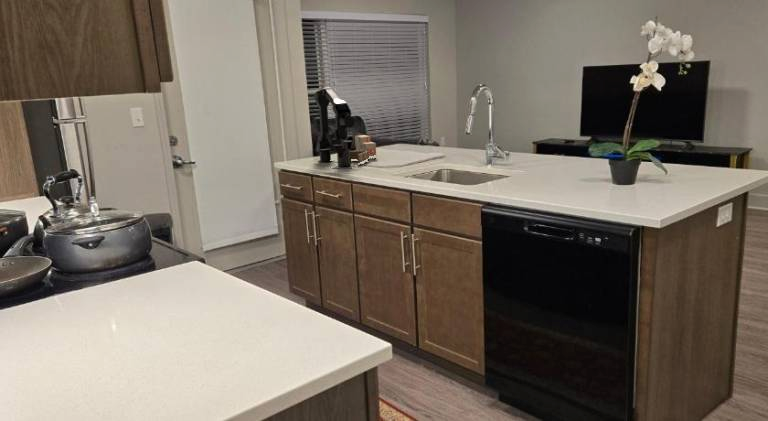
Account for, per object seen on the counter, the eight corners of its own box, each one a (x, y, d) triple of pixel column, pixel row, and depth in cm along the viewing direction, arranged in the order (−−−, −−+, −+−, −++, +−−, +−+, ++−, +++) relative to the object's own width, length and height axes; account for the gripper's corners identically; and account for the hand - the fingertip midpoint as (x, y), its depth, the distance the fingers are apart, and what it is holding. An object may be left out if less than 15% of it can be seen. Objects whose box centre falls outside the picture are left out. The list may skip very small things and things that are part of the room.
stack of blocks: (376, 159, 330) (375, 137, 327) (366, 160, 328) (365, 138, 325) (365, 154, 350) (364, 134, 347) (355, 155, 348) (354, 135, 345)
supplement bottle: (345, 165, 311) (343, 142, 308) (353, 166, 306) (352, 143, 303) (335, 167, 306) (333, 144, 303) (343, 168, 302) (342, 145, 299)
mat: (340, 165, 312) (340, 164, 312) (357, 165, 309) (356, 165, 309) (332, 168, 303) (332, 168, 303) (349, 169, 300) (349, 168, 300)
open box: (348, 161, 326) (347, 150, 324) (369, 161, 321) (368, 150, 320) (337, 165, 313) (337, 154, 311) (359, 165, 308) (358, 154, 307)
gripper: (335, 125, 312) (337, 153, 316) (320, 128, 296) (322, 159, 299) (354, 124, 308) (356, 153, 312) (339, 128, 292) (341, 159, 295)
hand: (343, 156), depth 305 cm, fingers open, 9 cm apart
